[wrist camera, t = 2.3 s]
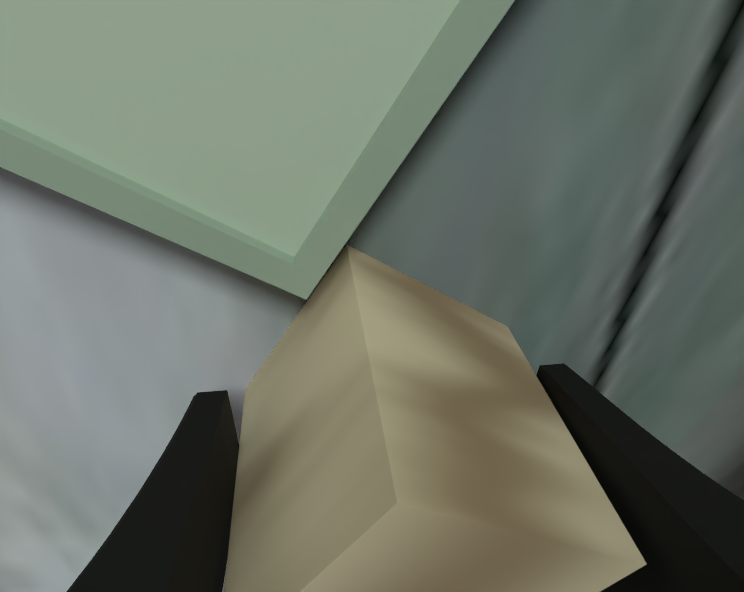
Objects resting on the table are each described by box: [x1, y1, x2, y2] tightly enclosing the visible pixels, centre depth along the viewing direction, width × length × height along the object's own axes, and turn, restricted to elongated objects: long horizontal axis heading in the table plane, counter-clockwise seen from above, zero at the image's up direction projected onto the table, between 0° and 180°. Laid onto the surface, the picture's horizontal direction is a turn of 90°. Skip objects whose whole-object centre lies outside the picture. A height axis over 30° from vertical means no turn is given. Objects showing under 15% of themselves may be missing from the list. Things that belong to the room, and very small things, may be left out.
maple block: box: [224, 245, 647, 592], centre depth 10 cm, size 5×5×6 cm
